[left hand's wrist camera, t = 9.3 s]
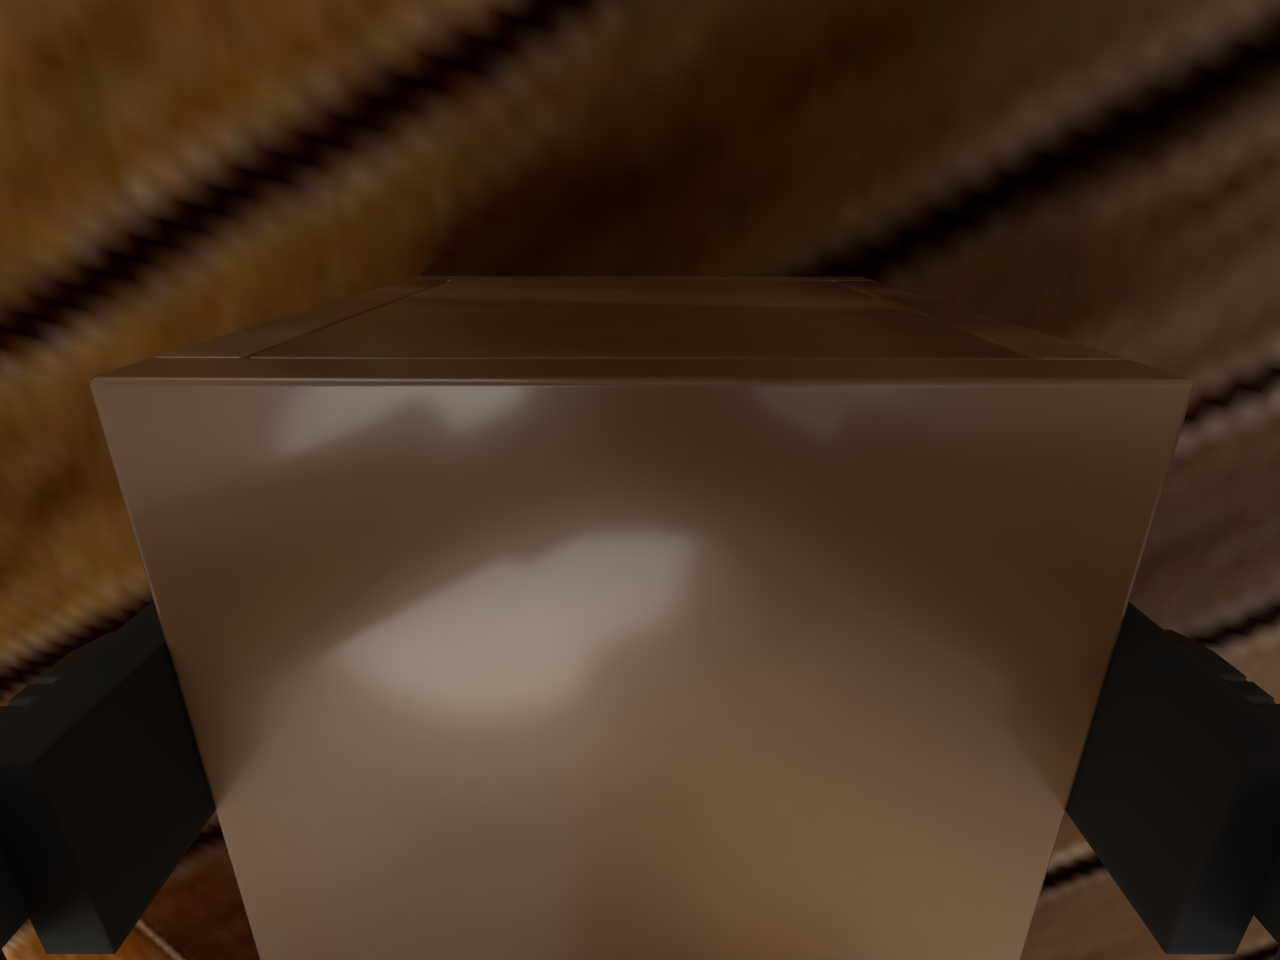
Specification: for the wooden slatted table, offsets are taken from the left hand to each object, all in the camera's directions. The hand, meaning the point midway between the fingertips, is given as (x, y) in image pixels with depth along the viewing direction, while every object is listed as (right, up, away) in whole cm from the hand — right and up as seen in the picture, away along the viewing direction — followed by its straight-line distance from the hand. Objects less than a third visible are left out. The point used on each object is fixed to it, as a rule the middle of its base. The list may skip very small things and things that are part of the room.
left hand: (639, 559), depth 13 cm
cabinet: (0, -3, +9) cm, 9 cm away
